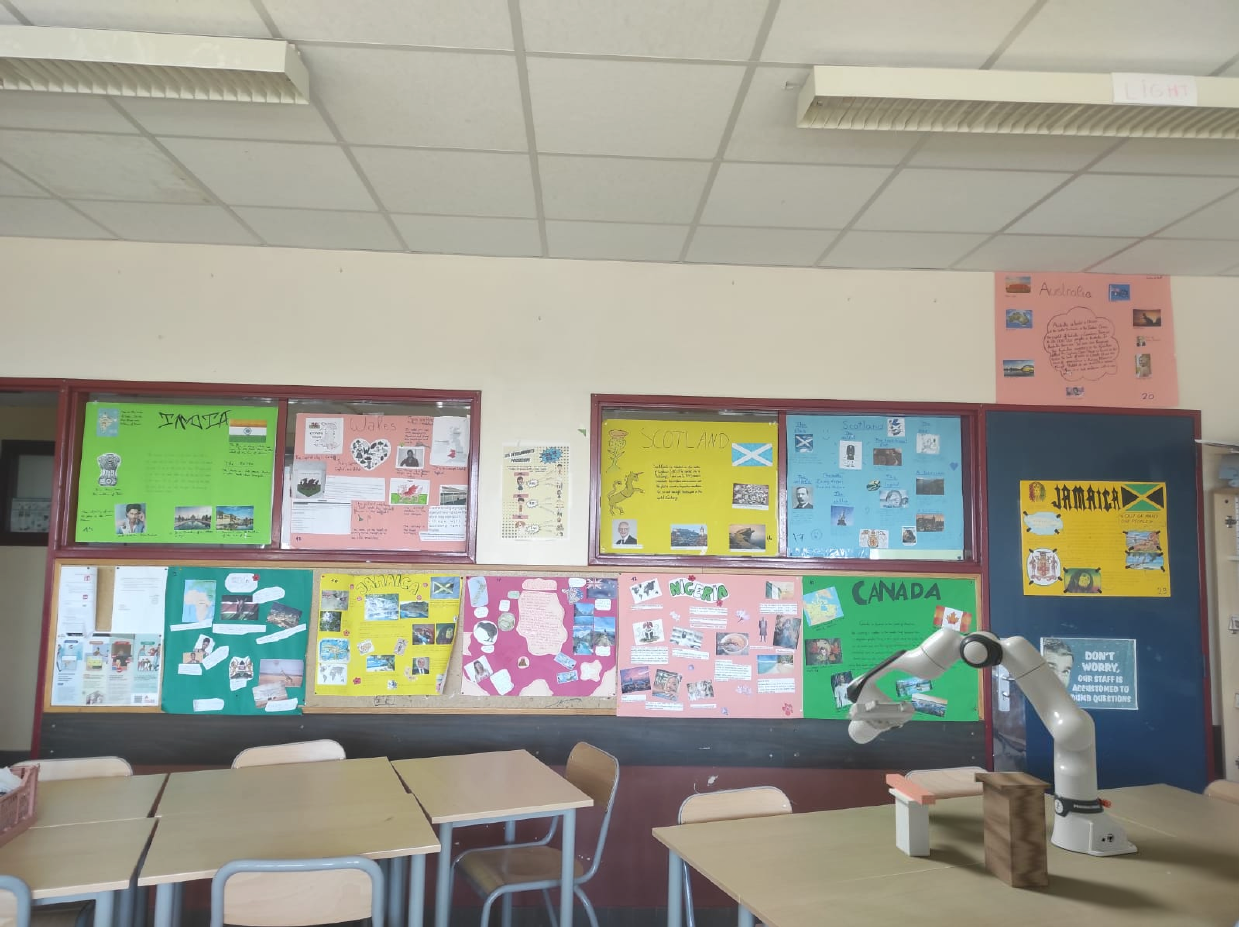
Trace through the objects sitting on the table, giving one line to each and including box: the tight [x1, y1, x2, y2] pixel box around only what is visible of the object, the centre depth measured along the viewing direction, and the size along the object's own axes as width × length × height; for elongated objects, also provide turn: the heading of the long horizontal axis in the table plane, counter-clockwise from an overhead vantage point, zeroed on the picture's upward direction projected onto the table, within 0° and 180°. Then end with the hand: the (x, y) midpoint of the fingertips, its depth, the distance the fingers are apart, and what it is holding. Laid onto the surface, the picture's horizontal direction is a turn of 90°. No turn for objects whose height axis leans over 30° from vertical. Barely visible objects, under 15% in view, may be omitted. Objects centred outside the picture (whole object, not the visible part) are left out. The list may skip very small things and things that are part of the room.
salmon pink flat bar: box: [885, 773, 937, 806], centre depth 237 cm, size 4×22×2 cm, turn 7°
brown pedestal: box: [973, 771, 1052, 888], centre depth 217 cm, size 14×13×25 cm
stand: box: [888, 788, 931, 857], centre depth 235 cm, size 8×12×16 cm, turn 7°
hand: (891, 702), depth 254 cm, fingers open, 8 cm apart
